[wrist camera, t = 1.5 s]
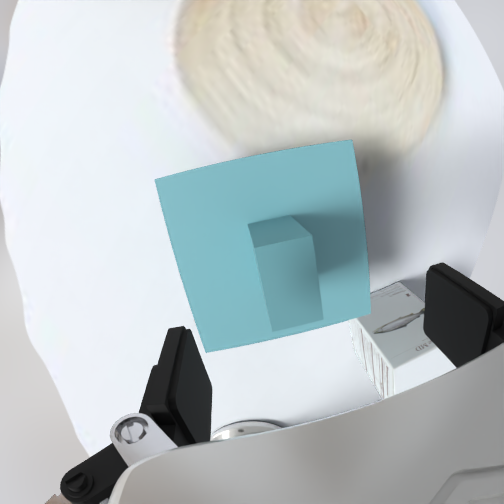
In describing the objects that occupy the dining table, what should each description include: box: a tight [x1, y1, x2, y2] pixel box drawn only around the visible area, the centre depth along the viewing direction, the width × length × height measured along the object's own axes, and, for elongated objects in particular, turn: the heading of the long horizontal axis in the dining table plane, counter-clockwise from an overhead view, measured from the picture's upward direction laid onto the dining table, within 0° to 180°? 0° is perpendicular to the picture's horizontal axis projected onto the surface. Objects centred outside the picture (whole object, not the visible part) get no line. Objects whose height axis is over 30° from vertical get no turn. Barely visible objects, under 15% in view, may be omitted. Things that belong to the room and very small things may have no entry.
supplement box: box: [348, 282, 456, 399], centre depth 27 cm, size 7×7×13 cm
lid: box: [155, 140, 371, 353], centre depth 20 cm, size 14×14×8 cm
